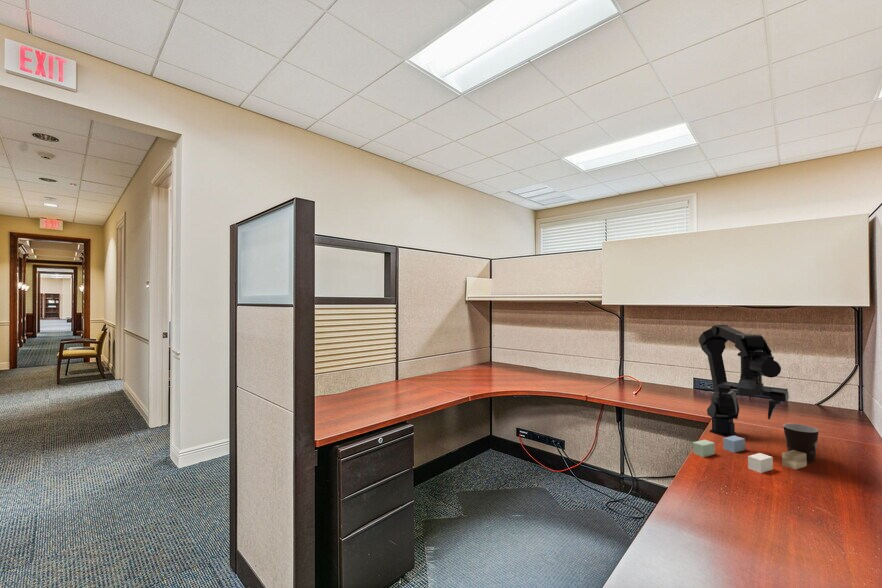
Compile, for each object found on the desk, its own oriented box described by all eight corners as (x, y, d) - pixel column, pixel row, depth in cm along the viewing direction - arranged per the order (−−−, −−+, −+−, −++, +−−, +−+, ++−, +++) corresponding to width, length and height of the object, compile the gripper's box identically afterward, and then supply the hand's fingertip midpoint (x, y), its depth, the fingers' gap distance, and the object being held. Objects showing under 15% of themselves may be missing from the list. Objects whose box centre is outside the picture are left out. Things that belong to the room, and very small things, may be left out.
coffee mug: (807, 465, 124) (806, 433, 124) (777, 454, 132) (776, 425, 132) (832, 460, 127) (831, 429, 127) (802, 450, 135) (801, 421, 135)
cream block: (748, 468, 123) (747, 456, 123) (760, 465, 125) (759, 452, 125) (760, 473, 119) (760, 460, 119) (772, 469, 122) (772, 456, 122)
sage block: (693, 453, 135) (692, 442, 135) (704, 450, 137) (704, 439, 137) (703, 457, 132) (702, 445, 132) (714, 454, 134) (714, 442, 134)
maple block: (782, 465, 124) (781, 453, 124) (793, 462, 127) (792, 449, 127) (795, 469, 121) (795, 457, 121) (806, 466, 123) (806, 453, 123)
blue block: (723, 449, 138) (723, 438, 138) (734, 446, 140) (734, 435, 140) (734, 453, 135) (733, 441, 135) (745, 450, 137) (744, 438, 137)
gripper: (712, 370, 137) (713, 415, 137) (781, 379, 123) (782, 428, 123) (721, 366, 144) (722, 408, 144) (788, 373, 130) (789, 420, 130)
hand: (752, 416), depth 135 cm, fingers open, 9 cm apart
